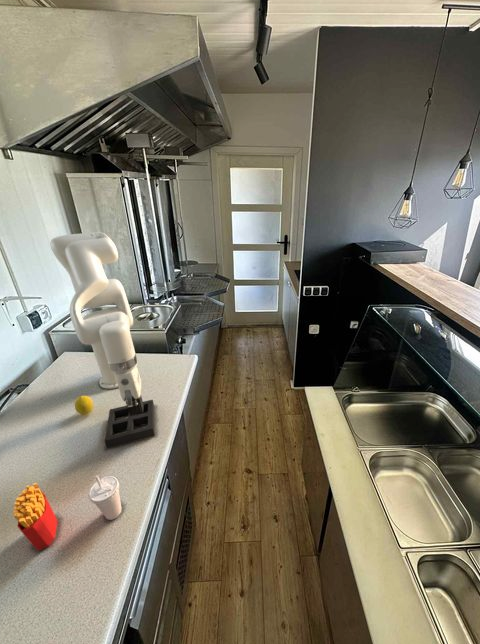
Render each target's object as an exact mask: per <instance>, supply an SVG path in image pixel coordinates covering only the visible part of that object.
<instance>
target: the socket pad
mask: <svg viewBox="0 0 480 644" xmlns="http://www.w3.org/2000/svg"><path fill="white" fill-rule="evenodd" d="M143 404H144V405H143V413H141V414H137V415H133V416H130V415H129V412H128V408H127V405H122V406H118V407H114V408H110V409H109V412H108V417H107V422H106V428H105V434H104V440H103V443H104V444H105V447H106V449H112V448H116V447H119V446H122V445H127V444H130V443H133V442H137V441H141V440H145V439H149V438H153V437H156V427H155V426H156V424H155V423H156V422H155V421H156V419H155V417H156V415H155V414H156V413H155V404H154V399H150V400H145V401H143ZM144 425H147V426H144ZM141 426H144V427H141ZM137 427H138V428H137ZM125 430H126V431H125ZM121 431H123V432H121ZM117 432H119V433H117Z"/></svg>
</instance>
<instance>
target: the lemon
mask: <svg viewBox="0 0 480 644" xmlns="http://www.w3.org/2000/svg"><path fill="white" fill-rule="evenodd" d="M74 409H75V411H76V413H78V414H79V415H82V416H86V415H88V414H90V413H91V412H92V411H93V409H94V401H93V400H92V398H91V397H90V396H88V395H81V396H79V397H77V398H76V400H75V401H74Z"/></svg>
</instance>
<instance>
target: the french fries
mask: <svg viewBox="0 0 480 644" xmlns="http://www.w3.org/2000/svg"><path fill="white" fill-rule="evenodd" d="M13 517H14V518H15V519H16V521H17V528H18V529H19V530H20V532H21V533H22V535H24V536H25V537H26V539H27V540H28V541H29V543H30V544H31V545H32V546H33V547H34V549H36V550H37V551H40V550H44V549H46V548H48V547H50V545H51V544H52V543H53V541H54V540H55V538H56V534H57V528H58V519H57V517H56V514H55V512H54V511H53V508H52V506H51V505H50V502H49V500H48V498H47V496H46V494H45V493H44V492H43V491H42V490H41V489H40V487H39V484H38V483H37V482H33V486H32V485H30V484H27V485H26V486H25V489H23V490H22V492H21V493H19V497H18V496H17V497H16V499H15V502H14V508H13Z"/></svg>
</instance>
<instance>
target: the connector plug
mask: <svg viewBox="0 0 480 644" xmlns="http://www.w3.org/2000/svg"><path fill="white" fill-rule="evenodd" d="M131 396H132V395H131ZM133 401H135V400H134V399H132V402H133ZM137 402H138V403H139V405H140V409H141V414H144V412H143V405H144V404H143V402H144V401H143V397H142V394H141V395H140V397H139V398H137ZM125 406H127V408H128V405H127V401H125ZM128 412H129V409H128ZM129 415H130V412H129ZM130 416H131V415H130Z"/></svg>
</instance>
